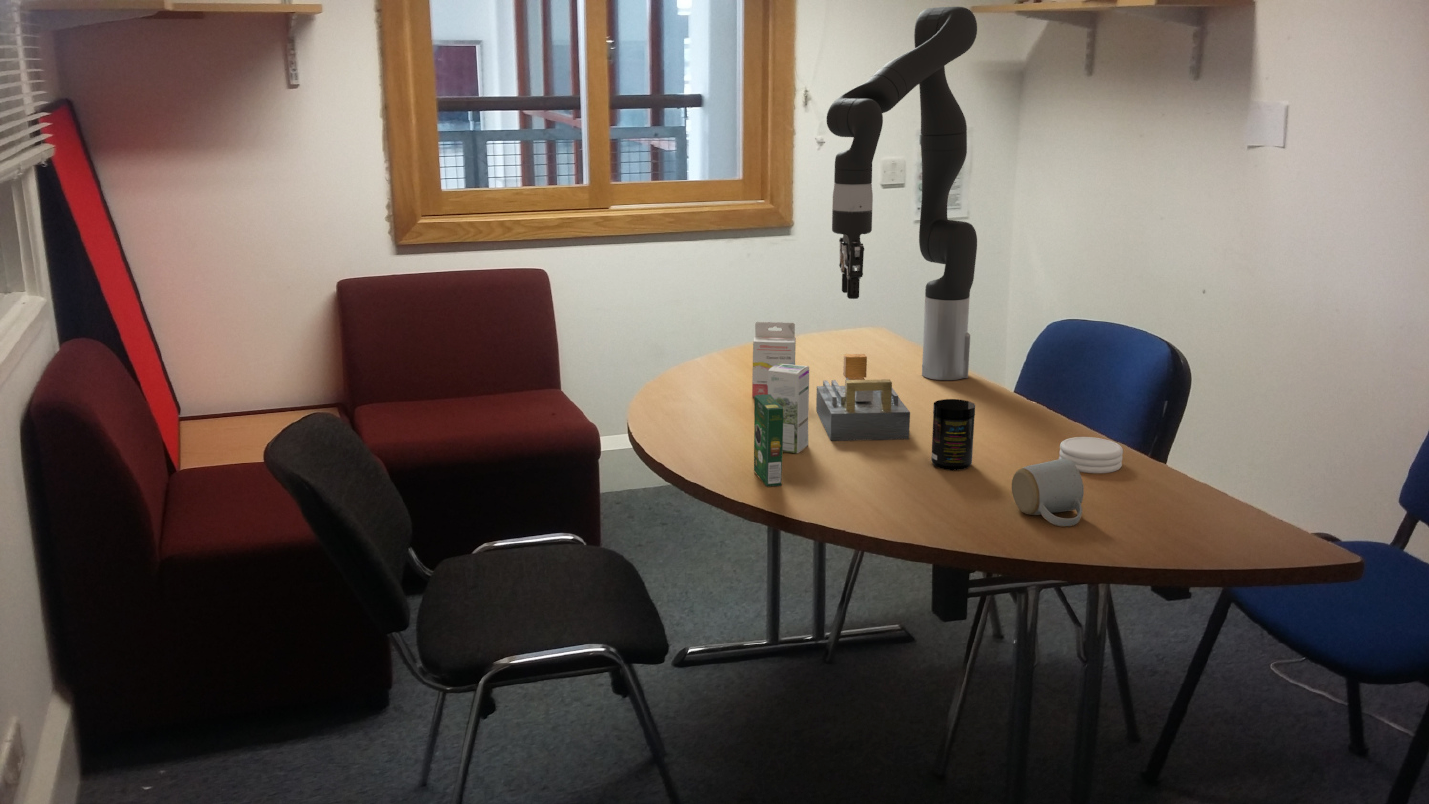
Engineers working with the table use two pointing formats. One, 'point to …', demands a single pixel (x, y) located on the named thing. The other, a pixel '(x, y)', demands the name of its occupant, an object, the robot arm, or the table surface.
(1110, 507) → the table surface
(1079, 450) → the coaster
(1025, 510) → the ceramic mug
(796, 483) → the table surface
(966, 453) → the supplement container
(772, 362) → the ink cartridge box
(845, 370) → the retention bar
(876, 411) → the heatsink block
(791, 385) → the syrup box
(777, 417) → the coffee box
